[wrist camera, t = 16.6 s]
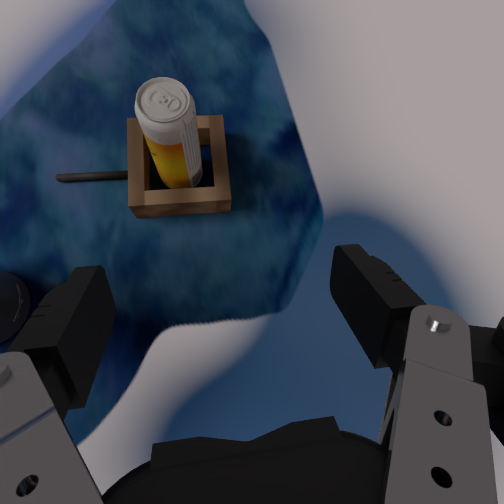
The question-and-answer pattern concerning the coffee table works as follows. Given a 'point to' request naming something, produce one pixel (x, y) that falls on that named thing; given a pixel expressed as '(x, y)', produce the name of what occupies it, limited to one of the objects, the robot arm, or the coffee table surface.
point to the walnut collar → (170, 200)
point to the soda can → (170, 131)
